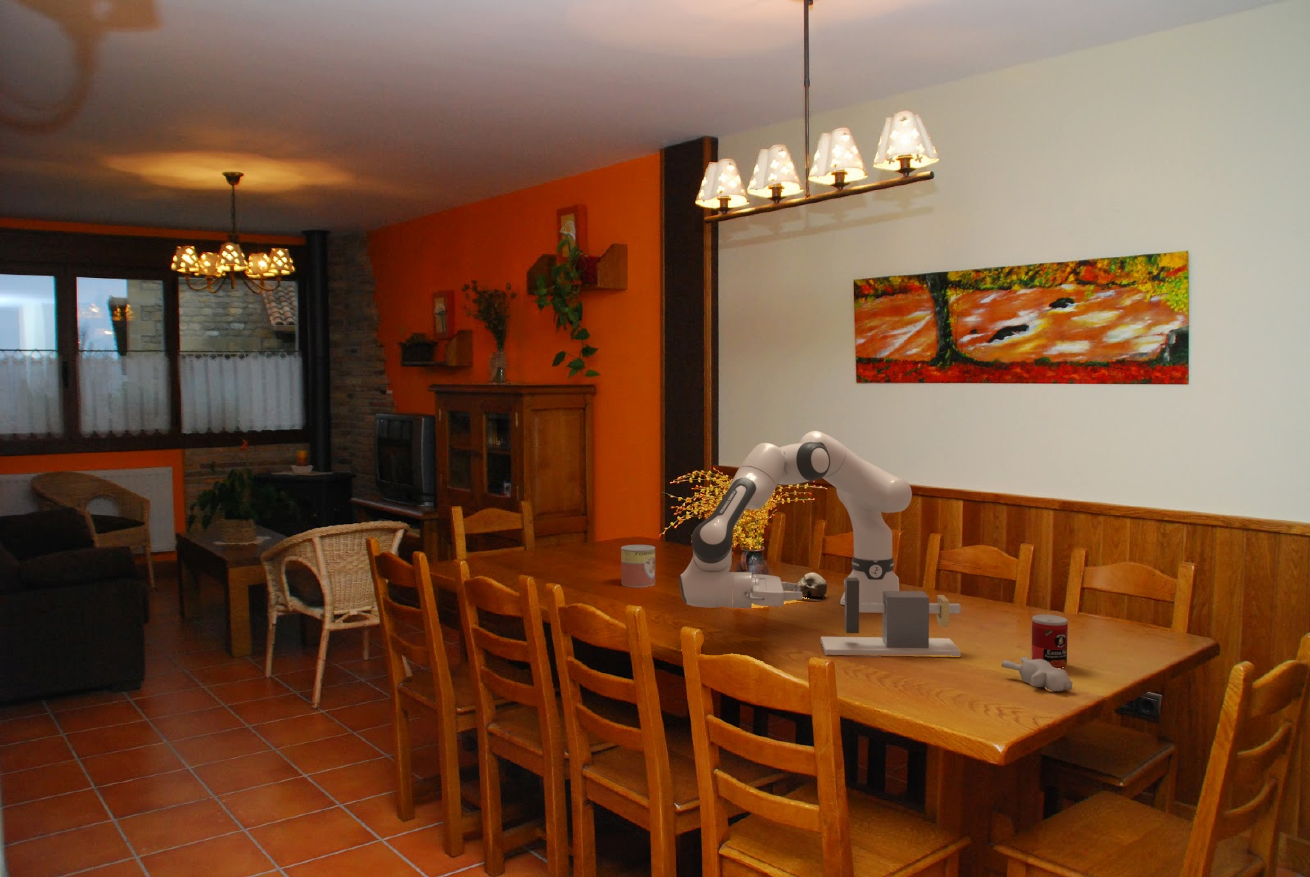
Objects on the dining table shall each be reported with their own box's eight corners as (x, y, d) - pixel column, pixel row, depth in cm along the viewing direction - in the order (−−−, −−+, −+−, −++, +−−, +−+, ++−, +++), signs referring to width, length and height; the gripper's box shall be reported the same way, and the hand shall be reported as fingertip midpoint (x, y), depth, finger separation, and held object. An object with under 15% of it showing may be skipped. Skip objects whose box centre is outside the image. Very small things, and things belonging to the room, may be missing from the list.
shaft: (844, 629, 246) (844, 577, 245) (957, 630, 244) (958, 578, 243) (846, 633, 242) (846, 580, 241) (961, 634, 240) (961, 581, 239)
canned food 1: (643, 588, 316) (643, 551, 316) (614, 585, 322) (614, 548, 322) (661, 582, 326) (661, 546, 325) (633, 579, 332) (632, 543, 331)
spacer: (936, 620, 245) (936, 595, 245) (943, 620, 245) (943, 595, 245) (942, 626, 239) (942, 600, 238) (948, 627, 239) (949, 600, 238)
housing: (882, 646, 247) (882, 590, 246) (923, 646, 246) (923, 591, 245) (886, 653, 240) (887, 597, 239) (928, 654, 239) (929, 597, 238)
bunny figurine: (1050, 678, 206) (998, 652, 220) (1047, 702, 207) (995, 674, 221) (1083, 673, 210) (1030, 647, 224) (1080, 695, 211) (1027, 669, 224)
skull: (786, 597, 297) (789, 568, 304) (791, 614, 305) (793, 586, 311) (826, 598, 294) (828, 569, 300) (830, 616, 302) (832, 586, 308)
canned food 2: (1045, 671, 225) (1046, 623, 224) (1023, 661, 232) (1024, 615, 232) (1074, 668, 227) (1075, 621, 226) (1051, 659, 234) (1052, 613, 234)
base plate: (820, 642, 250) (820, 636, 250) (949, 644, 248) (949, 638, 248) (825, 655, 238) (825, 649, 238) (960, 657, 236) (960, 651, 236)
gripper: (745, 586, 234) (804, 587, 233) (744, 570, 255) (798, 571, 254) (745, 612, 235) (803, 613, 234) (744, 594, 255) (798, 595, 254)
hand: (801, 591), depth 244 cm, fingers open, 8 cm apart
